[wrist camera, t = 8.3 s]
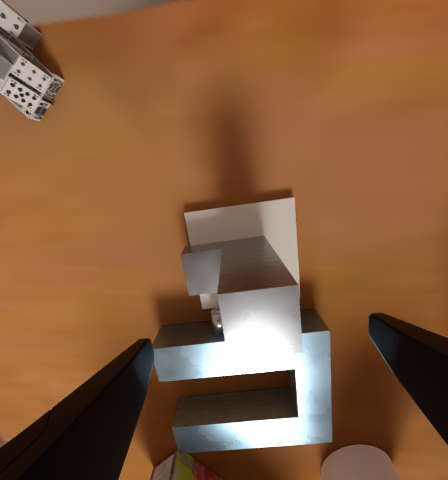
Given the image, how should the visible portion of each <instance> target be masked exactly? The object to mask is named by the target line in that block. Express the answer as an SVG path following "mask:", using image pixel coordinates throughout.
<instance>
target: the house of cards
mask: <svg viewBox="0 0 448 480" xmlns="http://www.w3.org/2000/svg"><path fill="white" fill-rule="evenodd" d="M28 23H29V22H28V21H27V20H26V19H25V18H23V17H22V16H21V15H20V14H19V13H17V12H16V11H15V10H14V9H12V8H11V7H10V6H9V5H7V4H6V3H5V2H4V1H3V0H0V94H2V95H4V96H6V98H7V99H8V100H9V101H10V102H11V103H12V104H14V105H15V107H16V108H17V109H19V110H20V111H21V112H22V113H23V114H24V115H25V116H26V117H27V118H29V119H32V120H35V121H38V122H39V121H40V120H41V118H42V117H43V115H44V114H45V112H46V111H47V109H48V108H49V106H50V105H53V104H51V103H50V102H49V101H48V100H50V101H52V102H54V101H53V100H52V99H53V98H54V96H55V94H56V93H57V91H58V90H59V88H60V87H61V85H62V84H63V82H64V81H65V80H63V79H62V78H60V77H59V76H57V75H56V74H52V73H51V72H50V71H49V70H48V69H47V68H46V67H44V66H43V65H42V64H41V63H40V62H39V61H38V60H37V59H36V58H35V57H34V56H33V54H32V53H31V52H30V51H29V50H28V49H27V48H26V47H25V46H27V47H29V48H30V49H32V50H34V48H35V47H36V45H37V43H38V42H39V40H40V38H41V37H42V34H41V33H39V32H38V31H37V30H36V29H34V28H33V27H32V26H31V25H29V24H28ZM3 29H4V30H3ZM6 32H7V33H9V34H10V36H9V35H8V34H7V33H6ZM47 99H48V100H47Z"/></svg>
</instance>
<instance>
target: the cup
mask: <svg viewBox="0 0 448 480" xmlns="http://www.w3.org/2000/svg"><path fill="white" fill-rule="evenodd" d="M321 475H322V478H323V480H402V478H401V477H400V475H399V473H398V472H397V470H396V468H395V466H394V465H393V463H392V461H391V460H390V458H389V456H388V455H387V454H386V453H385V452H384V451H382V450H381V449H379V448H377V447H374V446H370V445H362V444H358V445H350V446H346V447H343V448H340V449H338V450H336V451H334V452H333V453H331V454H330V455H329V456H328V457H327V458H326V459H325V460H324V462H323V464H322V467H321Z"/></svg>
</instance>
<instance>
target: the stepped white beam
mask: <svg viewBox="0 0 448 480" xmlns="http://www.w3.org/2000/svg"><path fill="white" fill-rule="evenodd" d="M180 256H181V261H182V265H183V270H184V275H185V280H186V285H187V289H188V294H189V296H192V295H200V294H208V293H216V292H217V296H218V302H219V308H220V314H221V320H222V326H223V331H224V337H225V343H226V349H227V355H228V360H237V359H247V358H257V357H267V356H277V355H287V354H296V353H303V348H302V332H301V317H300V301H299V285H298V283H297V282H296V281H295V279H294V278H293V276H292V275H291V273H290V272H289V270H288V269H287V268H286V266H285V265H284V263H283V262H282V260H281V259H280V258H279V256H278V255H277V253H276V252H275V250H274V249H273V247H272V246H271V245H270V243H269V242H268V240H267V239H266V237H265V236H258V237H251V238H243V239H236V240H229V241H221V242H214V243H206V244H199V245H192V246H186V247H185V248H184V250H183V251H182V253H181V254H180Z"/></svg>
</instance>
